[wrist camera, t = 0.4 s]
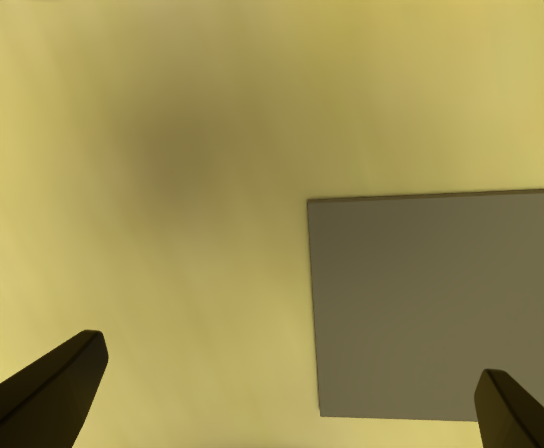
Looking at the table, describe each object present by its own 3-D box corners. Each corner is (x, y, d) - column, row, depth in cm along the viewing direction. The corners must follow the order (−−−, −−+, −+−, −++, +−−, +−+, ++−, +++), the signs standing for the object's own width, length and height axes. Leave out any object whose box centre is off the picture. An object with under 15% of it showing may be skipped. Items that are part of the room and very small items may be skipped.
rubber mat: (547, 416, 27) (551, 423, 26) (320, 409, 29) (320, 416, 29) (599, 186, 21) (606, 190, 20) (307, 199, 23) (307, 203, 22)
